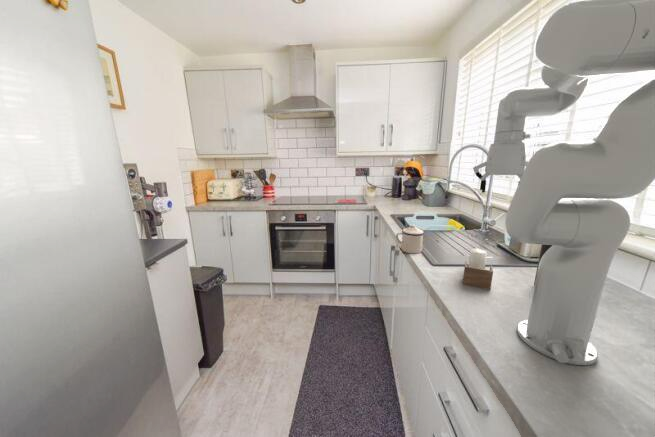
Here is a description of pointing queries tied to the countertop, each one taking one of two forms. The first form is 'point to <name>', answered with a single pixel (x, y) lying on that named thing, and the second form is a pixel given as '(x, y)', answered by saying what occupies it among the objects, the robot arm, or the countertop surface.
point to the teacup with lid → (411, 239)
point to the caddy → (477, 277)
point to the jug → (477, 258)
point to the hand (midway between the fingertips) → (500, 193)
